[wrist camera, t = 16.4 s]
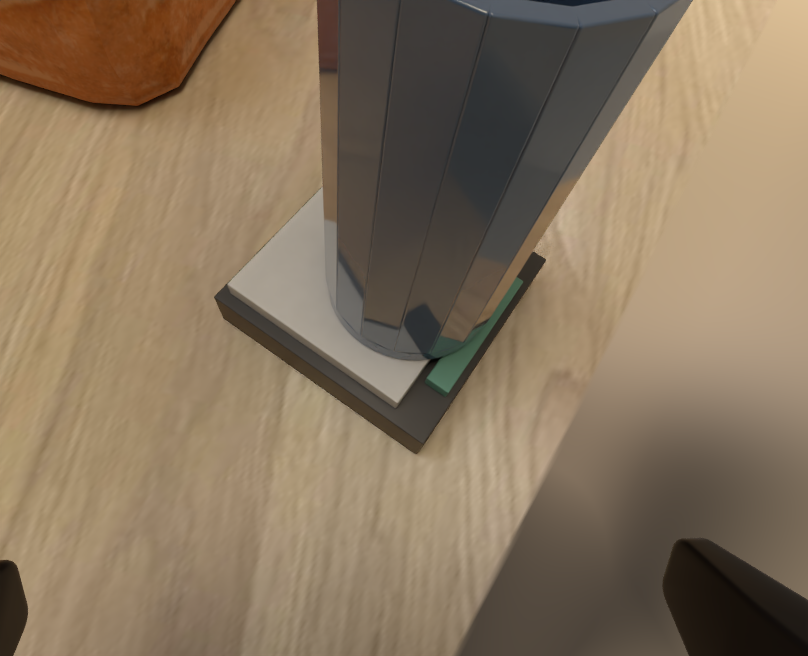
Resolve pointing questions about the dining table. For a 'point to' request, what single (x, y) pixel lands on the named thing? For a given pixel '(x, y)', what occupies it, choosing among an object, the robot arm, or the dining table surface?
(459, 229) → the tumbler
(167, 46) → the bread
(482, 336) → the kitchen scale
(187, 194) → the dining table surface
